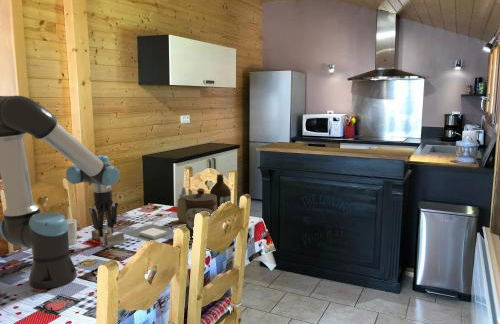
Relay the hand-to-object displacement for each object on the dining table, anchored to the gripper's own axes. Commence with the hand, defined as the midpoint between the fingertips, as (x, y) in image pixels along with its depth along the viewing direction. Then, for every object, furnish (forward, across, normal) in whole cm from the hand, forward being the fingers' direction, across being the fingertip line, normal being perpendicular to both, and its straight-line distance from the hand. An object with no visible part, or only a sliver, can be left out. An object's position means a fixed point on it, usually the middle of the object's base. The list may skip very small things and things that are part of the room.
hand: (106, 242), depth 187 cm
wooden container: (+1, +33, -28) cm, 43 cm away
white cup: (0, -10, +13) cm, 17 cm away
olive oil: (+1, +52, -23) cm, 56 cm away
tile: (-1, +18, -6) cm, 19 cm away
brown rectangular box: (0, 0, +1) cm, 1 cm away
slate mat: (0, +20, -7) cm, 21 cm away
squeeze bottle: (+1, +43, -6) cm, 43 cm away
